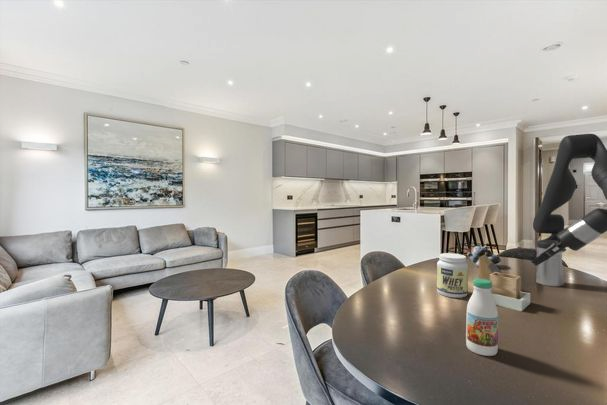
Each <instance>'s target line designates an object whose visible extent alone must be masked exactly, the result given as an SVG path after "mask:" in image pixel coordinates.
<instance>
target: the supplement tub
mask: <svg viewBox="0 0 607 405" xmlns="http://www.w3.org/2000/svg"><path fill="white" fill-rule="evenodd" d="M438 259H439V260H438V261H437V263H436V290H437V293H438V294H440V295H442V296H444V297H448V298H453V299H454V298H455V299H460V298H466V297H467V295H468V293H469V290H468V289H469V265H468V263H467V257H466V255H464V254H460V253H449V252H445V253H444V252H443V253H440V254H439V257H438Z"/></svg>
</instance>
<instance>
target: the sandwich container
mask: <svg viewBox="0 0 607 405" xmlns="http://www.w3.org/2000/svg"><path fill="white" fill-rule="evenodd" d="M494 272H498V273H503V271H502V270H501V269H500V268H499V267H497V264H494V263H493V262H492V261H491V260H490V259H489V258H488V257H487V256H486V255H483V256H481V257H479V268H478V279H486V280H489V281H490V274H492V273H494Z"/></svg>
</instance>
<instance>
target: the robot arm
mask: <svg viewBox="0 0 607 405" xmlns="http://www.w3.org/2000/svg"><path fill="white" fill-rule="evenodd" d="M586 158H587V159H588V158H589V159H591V160H592V161H594V164H593V166H592V169H591V177H592V180H593V181H594V182H595V183H596V184H597V186H598V187H599V188H600V190H602V194H603V196H604V199H605V200H606V201H607V148H606V146H605V144H604V143H603V141H602V140H601V138H600V136H598V135H597V134H596V133H582V134H581V133H580V134H571V135H570V134H569V135H566V136H564V137H563V138H562V139H561V141H560V143H559V146H558V148H557V153H556V156H555V162H554V166H553V169H552V173H551V176H550V178H549V180H548V184H547V186H546V188H545V190H544V194H543V195H544V196H543V198H542V201H541V203H540V206H539V208H538V210H537V211H536V214H535V216H534V218H533V222H532V228H533V231H535V232H536V233H538V234H550V236H548V237H546V238H543V239H539V240H538V241H537V243H536V257H535V258H534V259H533V260H531V263H532V264H533V265H534V266H536V271H535V272H536V280H535V282H536V283H537V284H540V285H543V286H546V287H547V286H549V287H561V286H564V285H565V284H564V281H565V278H564V276H565V274H564V273H565V265H564V264H563V253H564V252H566V251H567V248H569V249H570V250H571V251H573V252H575V251H578V250H580V249H582V248H583V247H585V246H587V245H588V244H590V243H591V242H593V241H594V240H596V239H598V238H599V237H600V236H601V235H603V234H604V233H606V232H607V209H605V208H599V207H598V208H595V209H593V210H592V211H590V212H588V213H587V214H585V215H584V216H582V217H580V219H577V220H576V221H574V222H573V223H571V224H570V225H568V226H566V227H565V219H564V217H563V215H561V214H558V213H557V214H556V213H553V212H554V211H556V210H558V209H560V208H561V207H562V206H564V205H565V204H567V203H568V202H569V201H570V200H571V199H572V198H573V196H574V193H575V191H576V189H577V185H578V184H577V180H576V179H575V177H574V175H573V173H572V172H571V170H570V163H571V161H573V160H576V159H586Z"/></svg>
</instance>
